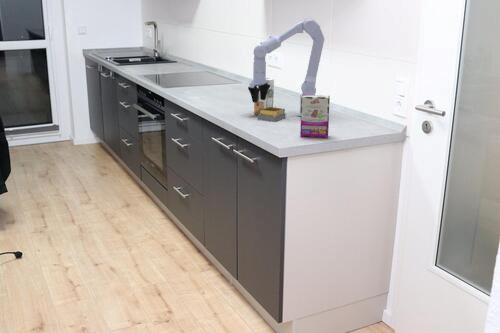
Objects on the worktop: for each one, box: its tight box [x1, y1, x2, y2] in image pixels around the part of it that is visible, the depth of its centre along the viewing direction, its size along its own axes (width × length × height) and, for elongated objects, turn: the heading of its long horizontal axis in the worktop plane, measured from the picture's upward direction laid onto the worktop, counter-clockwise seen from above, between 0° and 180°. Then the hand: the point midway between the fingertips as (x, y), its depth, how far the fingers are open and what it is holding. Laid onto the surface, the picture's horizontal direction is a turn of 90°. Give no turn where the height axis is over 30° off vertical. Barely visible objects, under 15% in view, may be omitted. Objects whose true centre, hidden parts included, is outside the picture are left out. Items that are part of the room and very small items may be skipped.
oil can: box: [253, 101, 264, 117], centre depth 264 cm, size 5×5×7 cm
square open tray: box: [257, 106, 287, 123], centre depth 257 cm, size 9×10×4 cm
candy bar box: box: [299, 94, 331, 139], centre depth 225 cm, size 11×5×16 cm, turn 80°
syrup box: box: [257, 77, 275, 108], centre depth 280 cm, size 6×6×14 cm
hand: (259, 101), depth 263 cm, fingers open, 7 cm apart
